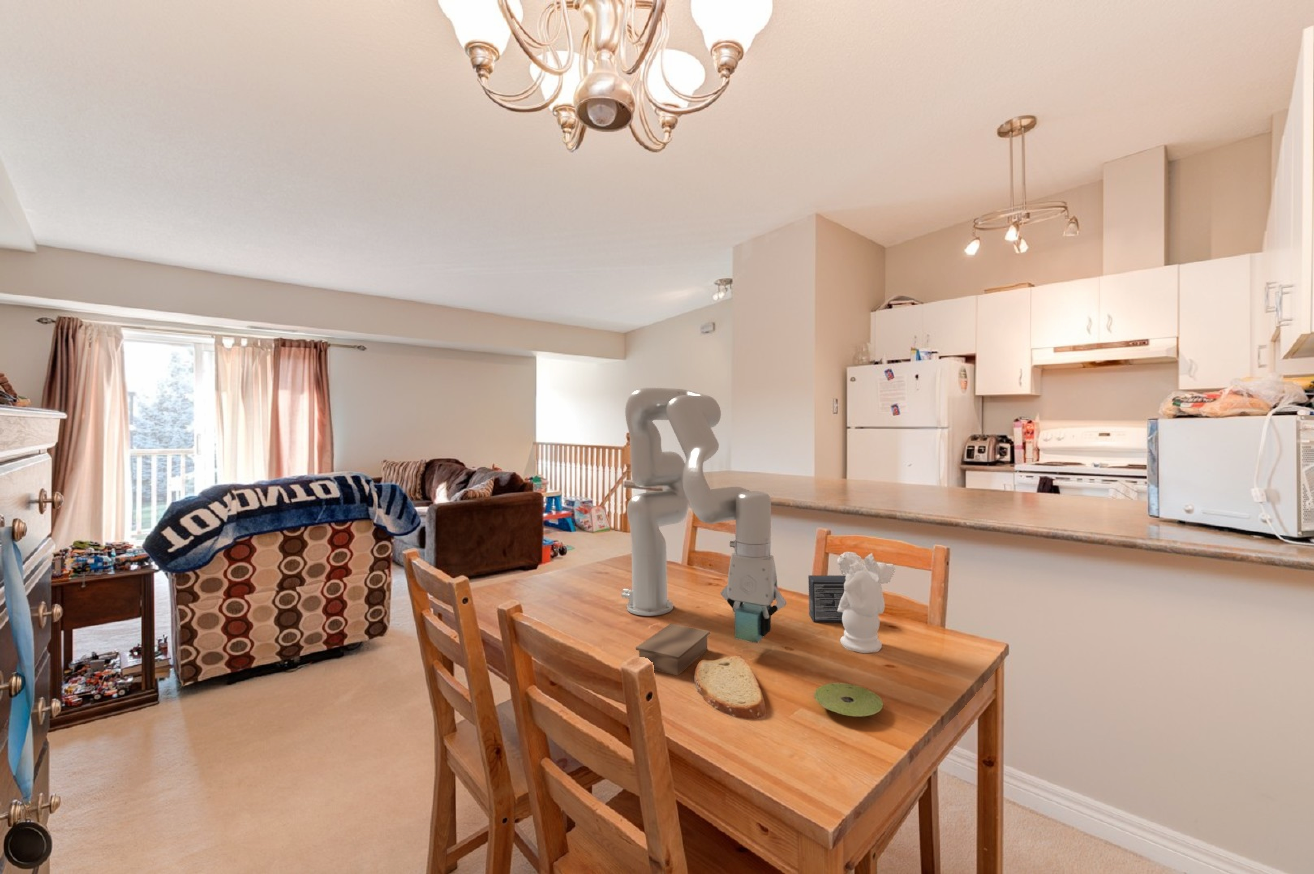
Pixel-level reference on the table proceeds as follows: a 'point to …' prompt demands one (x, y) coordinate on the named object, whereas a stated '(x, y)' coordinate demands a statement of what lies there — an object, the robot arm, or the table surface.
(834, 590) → the small box
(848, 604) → the cherub figurine
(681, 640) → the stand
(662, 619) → the table surface
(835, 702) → the green disc
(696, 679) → the slice of bread
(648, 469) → the robot arm
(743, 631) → the block
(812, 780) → the table surface
